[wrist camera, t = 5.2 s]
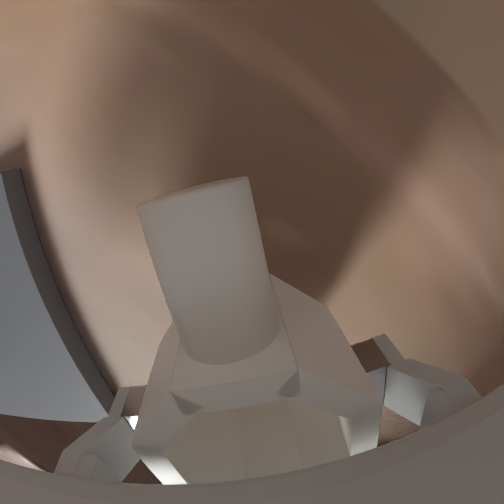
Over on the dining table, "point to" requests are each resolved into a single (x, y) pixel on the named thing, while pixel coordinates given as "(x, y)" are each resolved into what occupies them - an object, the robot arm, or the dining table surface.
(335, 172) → the dining table surface
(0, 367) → the duct plate
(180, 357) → the collar
